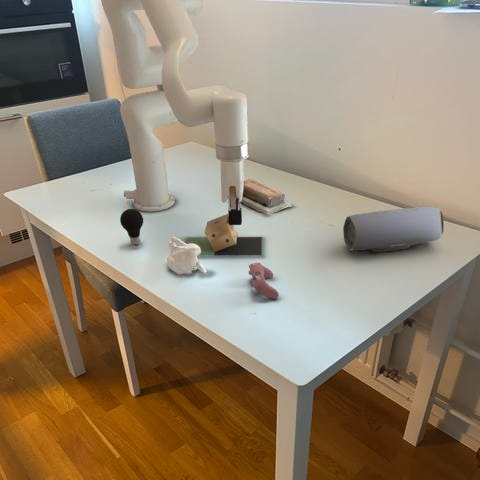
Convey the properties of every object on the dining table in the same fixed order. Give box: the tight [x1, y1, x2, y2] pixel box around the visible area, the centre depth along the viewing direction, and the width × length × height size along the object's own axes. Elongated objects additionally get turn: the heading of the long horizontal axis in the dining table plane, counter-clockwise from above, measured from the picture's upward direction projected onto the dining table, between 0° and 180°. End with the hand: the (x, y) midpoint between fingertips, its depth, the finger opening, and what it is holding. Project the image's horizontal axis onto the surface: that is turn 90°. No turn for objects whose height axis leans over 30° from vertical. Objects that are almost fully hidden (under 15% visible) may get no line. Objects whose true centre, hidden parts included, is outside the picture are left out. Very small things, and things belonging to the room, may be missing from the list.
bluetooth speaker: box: [342, 206, 445, 253], centre depth 125 cm, size 23×9×10 cm, turn 100°
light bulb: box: [119, 208, 144, 246], centre depth 130 cm, size 6×6×10 cm
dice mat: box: [185, 236, 263, 257], centre depth 130 cm, size 20×10×1 cm, turn 87°
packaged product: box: [240, 178, 293, 215], centre depth 152 cm, size 18×5×10 cm
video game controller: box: [248, 261, 280, 300], centre depth 112 cm, size 10×5×7 cm, turn 5°
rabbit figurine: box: [166, 236, 208, 275], centre depth 118 cm, size 12×8×10 cm, turn 49°
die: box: [204, 213, 238, 252], centre depth 128 cm, size 6×6×6 cm
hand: (235, 223), depth 126 cm, fingers closed
